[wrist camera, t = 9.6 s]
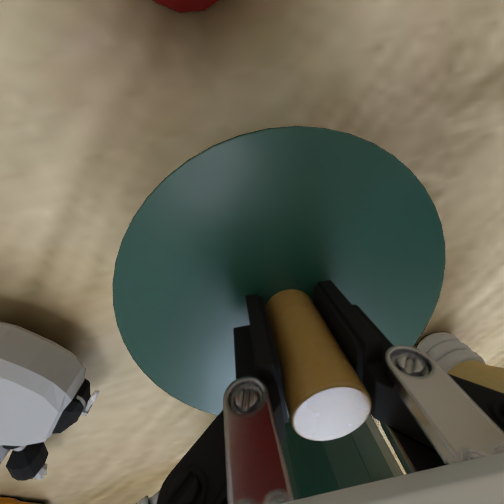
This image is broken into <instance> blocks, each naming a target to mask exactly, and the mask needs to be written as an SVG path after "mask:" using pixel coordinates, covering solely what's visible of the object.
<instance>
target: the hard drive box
mask: <svg viewBox="0 0 504 504" xmlns="http://www.w3.org/2000/svg"><path fill="white" fill-rule="evenodd" d="M0 504H40V503H31V502H23V501H19V500H17V499H14V498H9V497H0Z"/></svg>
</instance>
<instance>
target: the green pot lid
mask: <svg viewBox="0 0 504 504" xmlns="http://www.w3.org/2000/svg"><path fill="white" fill-rule="evenodd" d="M444 270H445V241H444V236H443V230H442V225H441V222H440V219H439V216H438V213H437V211H436V208H435V205H434V203H433V202H432V200H431V198H430V196H429V195H428V193H427V191H426V189H425V187H424V186H423V185H422V184H421V183H420V181H419V180H418V179H417V178H416V176H415V175H414V174H413V173H412V171H411V170H410V169H408V168H407V167H406V166H405V165H404V164H403V163H401V162H400V161H399V160H398V159H397V158H396V157H395V156H393V155H392V154H390V153H389V152H387V151H385V150H384V149H382V148H380V147H379V146H377V145H375V144H374V143H372V142H369V141H367V140H364V139H362V138H359V137H357V136H354V135H352V134H349V133H344V132H340V131H335V130H331V129H327V128H318V127H303V126H291V127H280V128H268V129H264V130H260V131H255V132H251V133H247V134H242V135H239V136H236V137H234V138H231V139H229V140H226V141H224V142H221V143H219V144H216V145H214V146H212V147H210V148H208V149H206V150H205V151H203V152H201V153H199V154H198V155H196V156H194V157H192V158H191V159H189V160H187V161H186V162H185V163H184V164H182V165H181V166H180V167H179V168H177V169H176V170H175V171H173V172H172V173H171V174H170V175H168V176H167V177H166V178H165V179H164V180H163V181H162V182H161V183H160V184H159V185H158V186H157V187H156V188H155V190H154V191H153V192H152V193H151V194H150V195H149V196H148V197H147V198H146V200H145V201H144V203H143V204H142V206H141V207H140V209H139V210H138V211H137V213H136V214H135V216H134V217H133V219H132V221H131V223H130V225H129V227H128V229H127V231H126V233H125V235H124V237H123V239H122V242H121V246H120V249H119V252H118V256H117V259H116V263H115V270H114V278H113V306H114V311H115V316H116V321H117V325H118V328H119V331H120V333H121V336H122V339H123V341H124V343H125V345H126V347H127V349H128V351H129V352H130V354H131V356H132V358H133V359H134V360H135V362H136V363H137V364H138V366H139V367H140V368H141V370H142V371H143V372H144V373H145V374H146V375H147V376H148V377H149V378H150V379H151V380H152V381H153V382H154V383H155V384H156V385H157V386H159V387H160V388H161V389H163V390H164V391H165V392H167V393H168V394H169V395H171V396H173V397H174V398H176V399H178V400H180V401H181V402H183V403H185V404H187V405H189V406H192V407H194V408H196V409H199V410H201V411H205V412H208V413H211V414H214V415H219V414H220V413H221V412H222V410H223V396H224V393H225V391H226V388H227V387H228V386H229V385H230V383H232V382H233V381H234V380H236V370H235V352H234V334H233V328H236V327H241V326H246V325H250V323H249V316H248V310H247V304H246V297H245V296H247V295H252V294H257V296H262V297H263V301H264V305H265V308H266V312H267V316H268V319H269V323H270V327H271V330H272V334H273V338H274V341H275V345H276V349H277V352H278V356H279V360H280V365H281V372H282V379H283V386H284V398H285V402H286V407H287V414H288V418H290V422H291V425H292V427H293V429H294V430H295V432H296V433H297V434H298V435H300V436H301V437H303V438H305V439H309V440H313V441H328V440H333V439H337V438H340V437H343V436H345V435H347V434H349V433H351V432H353V431H354V430H356V429H357V428H358V427H360V426H361V425H362V424H363V423H364V422H365V420H366V419H367V417H368V416H369V414H370V411H371V406H372V403H371V398H370V395H369V393H368V391H367V390H366V388H365V386H364V385H363V383H362V381H361V380H360V378H359V376H358V375H357V373H356V372H355V370H354V368H353V367H352V365H351V363H350V362H349V360H348V358H347V357H346V355H345V353H344V352H343V350H342V349H341V347H340V345H339V344H338V342H337V340H336V339H335V337H334V335H333V334H332V332H331V331H330V329H329V327H328V326H327V324H326V322H325V321H324V319H323V317H322V316H321V314H320V312H319V311H318V309H317V308H316V306H315V299H314V286H316V285H317V283H318V282H321V281H326V280H331V281H332V282H333V283H334V284H335V285H336V287H337V288H338V289H339V290H340V291H341V292H342V294H343V295H344V296H345V297H346V298H347V300H348V301H349V302H350V303H351V304H352V305H353V304H355V305H357V306H359V307H360V308H361V310H362V311H363V312H364V313H365V314H366V315H367V316H368V317H369V319H370V320H371V321H372V322H373V323H374V324H375V325H376V326H377V328H378V329H379V330H380V331H381V332H382V333H383V334H384V335H385V337H386V338H387V339H388V340H389V341H390V342H391V343H392V344H393V346H395V345H408V346H414V344H415V343H416V341H417V340H418V338H419V337H420V335H421V334H422V332H423V331H424V329H425V327H426V326H427V324H428V322H429V320H430V318H431V316H432V314H433V312H434V309H435V306H436V304H437V301H438V299H439V295H440V291H441V287H442V283H443V279H444Z"/></svg>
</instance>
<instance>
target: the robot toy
mask: <svg viewBox="0 0 504 504" xmlns="http://www.w3.org/2000/svg"><path fill="white" fill-rule="evenodd" d="M85 374H86V368H85V367H84V366H83V365H82V363H81V362H80V361H79V359H78V358H77V357H76V356H75V354H73V353H72V352H70V351H69V350H67V349H65V348H63V347H62V346H60V345H58V344H57V343H55V342H53V341H51V340H49V339H47V338H44V337H42V336H40V335H38V334H35V333H33V332H31V331H29V330H26V329H24V328H22V327H20V326H17V325H12V324H8V323H4V322H0V463H1V462H2V460H3V459H4V457H5V456H6V455H7V453H8V452H9V451H10V449H13V451H12V453H11V455H10V458H9V460H8V462H7V464H6V467H7V469H8V471H9V472H10V474H11V476H12V477H13V478H14V479H16V480H28V479H33V478H34V479H42V478H43V477H44V476H45V475H46V472H47V464H45V461H46V459H47V456H48V451H47V449H46V447H45V444H44V441H45V440H47V439H48V438H49V437H50V436H51V435H52V434H53V433H61V432H63V431H64V430H65V429H67V428H68V427H69V426H71V425H72V424H73V423H75V422H77V420H78V418H79V417H80V415H85V416H86V415H87V414H88V412H89V410H90V408H91V406H92V403H93V401H95V399H96V397H97V395H98V393H99V392H100V391H96V390H95V391H94V393H93V395H92V397H91V395H90V382H89V381H88V380H87V379H85ZM90 397H91V398H90ZM89 399H90V401H89V403H87V402H88V400H89Z"/></svg>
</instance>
